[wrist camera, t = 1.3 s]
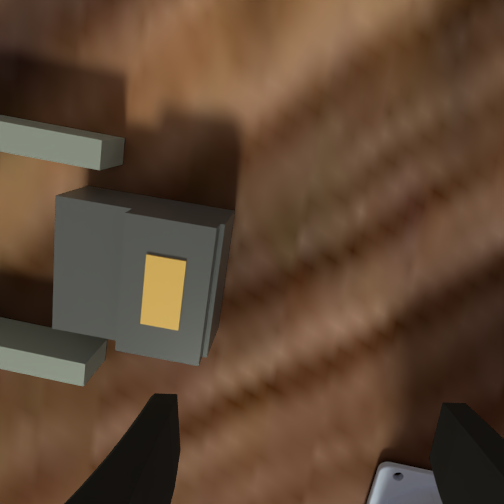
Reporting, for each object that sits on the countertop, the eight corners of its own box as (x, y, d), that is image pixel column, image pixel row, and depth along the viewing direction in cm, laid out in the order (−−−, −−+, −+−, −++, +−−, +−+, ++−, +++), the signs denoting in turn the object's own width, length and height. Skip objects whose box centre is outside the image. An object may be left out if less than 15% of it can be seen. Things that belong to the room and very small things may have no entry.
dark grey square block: (235, 209, 21) (221, 229, 17) (219, 325, 23) (202, 368, 19) (90, 185, 21) (43, 199, 17) (84, 301, 23) (41, 337, 19)
